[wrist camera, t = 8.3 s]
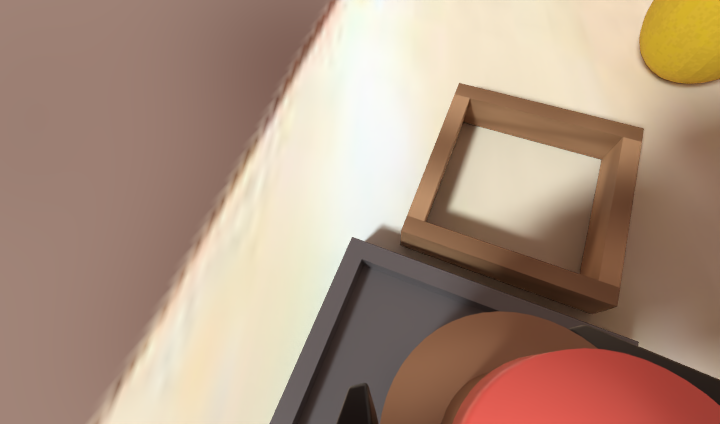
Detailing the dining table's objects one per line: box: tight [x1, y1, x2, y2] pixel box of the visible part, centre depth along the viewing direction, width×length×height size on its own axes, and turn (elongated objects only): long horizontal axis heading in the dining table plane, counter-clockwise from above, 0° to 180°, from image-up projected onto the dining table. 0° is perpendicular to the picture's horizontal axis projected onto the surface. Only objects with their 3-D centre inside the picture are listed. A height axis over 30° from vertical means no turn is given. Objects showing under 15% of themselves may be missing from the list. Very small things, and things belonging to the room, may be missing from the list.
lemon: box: [640, 0, 720, 84], centre depth 18 cm, size 6×6×8 cm
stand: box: [400, 83, 644, 314], centre depth 18 cm, size 9×9×2 cm
